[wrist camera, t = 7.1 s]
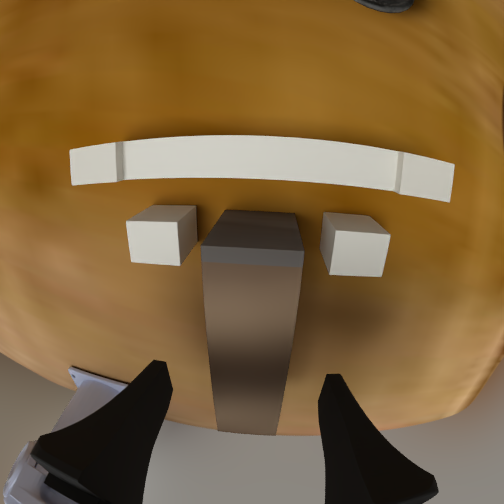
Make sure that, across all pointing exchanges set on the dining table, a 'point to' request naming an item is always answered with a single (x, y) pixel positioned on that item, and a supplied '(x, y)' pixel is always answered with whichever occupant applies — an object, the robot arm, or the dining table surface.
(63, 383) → the dining table surface
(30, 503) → the robot arm
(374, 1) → the dark grey tall piece
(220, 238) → the block
